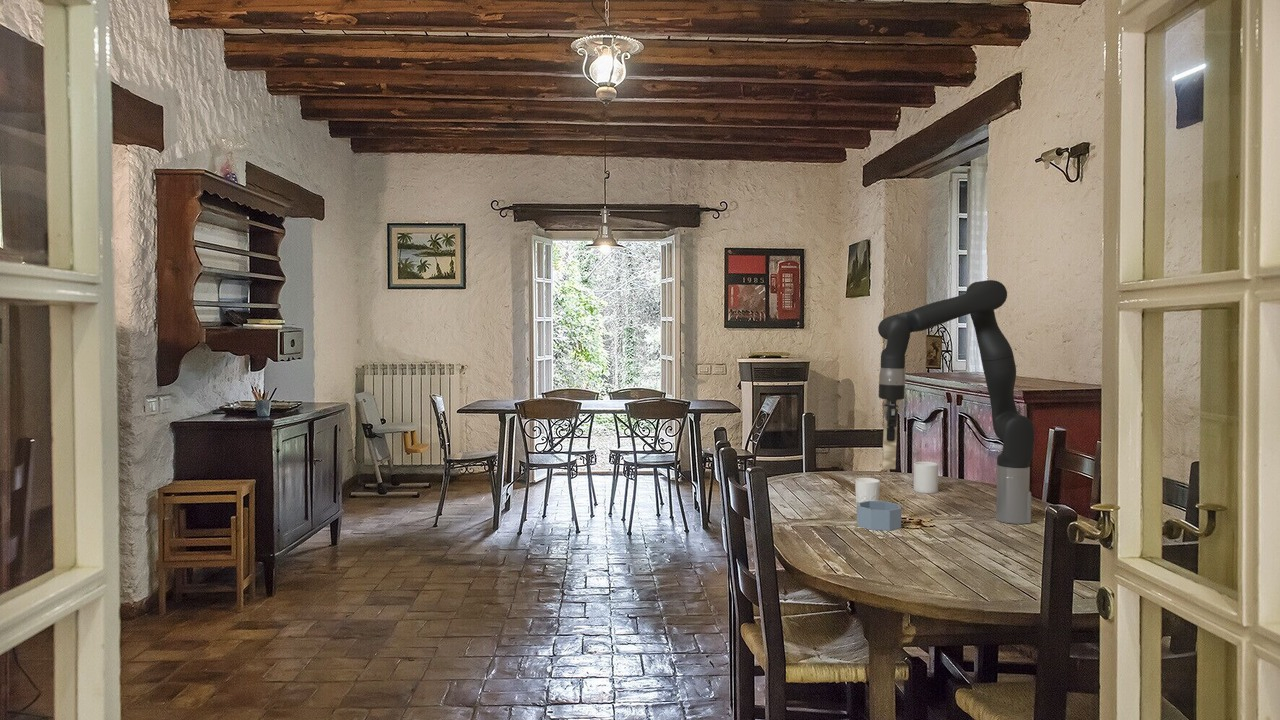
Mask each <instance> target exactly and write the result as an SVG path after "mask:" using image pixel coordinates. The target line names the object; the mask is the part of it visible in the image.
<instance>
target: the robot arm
mask: <svg viewBox="0 0 1280 720" xmlns="http://www.w3.org/2000/svg"><path fill="white" fill-rule="evenodd" d="M1007 298H1008V291H1007V287H1006V286H1005V285H1004V284H1003V283H1002V282H1000V281H997V280H994V279H987V280H980V281H974V282H972V283H971V284H969V286H968V287H967V289H966V290H965V293H964V294H961V295H958V296H954V297H950V298H946V299H942V300H938V301H934V302H931V303H928V304H925V305H922V306H919V307H916V308H914V309H911V310H909V311H905V312H901V313H897V314H893V315H890V316H887V317H885V318H883V319H881V321H880V322H879V324H878V326H877V330H878V331H877V332H878V334H879V336H880V337H882V338H883V339H884V340H886V345H885V346H886V347H885V348H883V350H882V351H881V353H880V369H879V374H878V375H879V376H878V398H879V399H880V400H881V399H882V400H885V401H886V402H885V403H884V404H883V412H884V413H883V419H884V418H885V420H887V425H886V427H887V440H888V441H894V439H895V429H894V428H896V426H897V427H898V414H899V405H898V404H897V401H898V400H900V401H901V400H905V398H906V397H905V396H906V395H905V393H906V392H905V390H906V370H905V369H906V353H907V350H908V346H909V342H910V339H911V338H910V337H911V333H916V332H917V333H918V332H921V331H922V332H923V331H926V330H929V329H931V328H934V327H938V326H940V325H942V324H944V323H948V322H950V321H952V320H955V319H957V318H961V317H963V316H967V315H970V318H971V322H972V324H973V328H974V332H975V335H976V342H977V345H978V349H979V354H980V361H981V365H982V370H983V374H984V377H985V378H984V379H985V383H986V387H987V388H986V389H987V392H988V396H989V401H990V407H991V419H992V421H991V422H992V427H993V432H994V434H995V435H996V437H997V438H998V439H999V440H1001V441H1003V443H1002V445H1003V446H1002V450H1001V451H1002V452H1001V453H1000V454H998V456H997V457H996V497H995V498H996V500H995V501H996V503H995V504H996V505H995V520H996V521H999V522H1000V523H1001V522H1002V523H1006V524H1014V525H1022V524H1025V525H1026V524H1031V522H1032V492H1031V491H1030V479H1031V478H1030V475H1031V474H1030V473H1031V460H1032V459H1033V455H1034V445H1035V444H1034V443H1035V427H1034V424H1033V421H1032V420H1031V419H1030V418H1028V417H1027V416H1026V415H1021V414H1019V412H1018V410H1017V405H1016V401H1015V395H1014V392H1015V385H1016V379H1017V366H1016V361H1015V356H1014V352H1013V349H1012V346H1011V344H1010V343H1009V341H1008V339H1007V338H1006V336H1005V335H1004V333H1003V332H1002V330H1001V328H1000V327H999V325H998V323H997V319H996V314H995V310H997V309H999V308H1000V307H1003V305H1005V303H1006V301H1007ZM890 420H892V421H894V423H890Z"/></svg>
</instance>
